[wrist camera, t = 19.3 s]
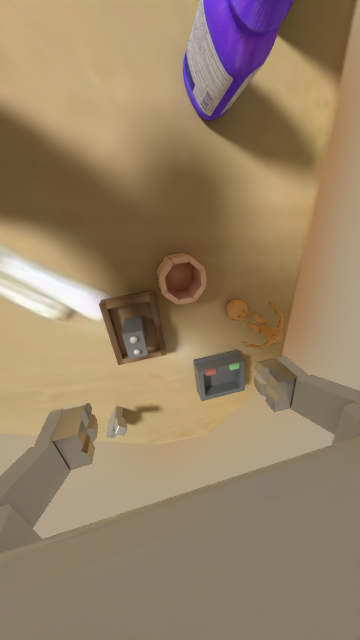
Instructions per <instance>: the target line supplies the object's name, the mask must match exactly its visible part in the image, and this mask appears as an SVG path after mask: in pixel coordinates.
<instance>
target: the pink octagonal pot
mask: <svg viewBox="0 0 360 640" xmlns="http://www.w3.org/2000/svg"><path fill="white" fill-rule="evenodd" d="M156 272H157V278H158V283H159V287H160V290H161V292H162V294H163V296H165V297H166V298H168V299H169V300H171V301H172V302H174V303H175V304H178V305H180V304H186V303H191V302H195V301H196V300H197V299H198V298H199V296H200V295H201V294H202V292H203V291H204V290H205V288H206V287H205V286H207V282H206V269H205V267H204V266H202V265H201V264H200V263H199V262H198V261H196V260H195V259H194V258H193V257H191V256H189V255H187V254H185V253H179V254H172V255H167V256H166V257H165V258H164V260H163V261H162V262H161V263H160V265H159V267H158V268H157V271H156Z"/></svg>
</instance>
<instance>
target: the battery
mask: <svg viewBox="0 0 360 640" xmlns="http://www.w3.org/2000/svg"><path fill="white" fill-rule="evenodd" d="M122 336H123V340H124V343H125V347H126V350H127V354H128V357H129V359H132V358H137V357H141V356H146V355H148V349H147V337H146V333H145V329H144V324H143V320H142V316H136V317H131V318H126V319H124V325H123V331H122Z"/></svg>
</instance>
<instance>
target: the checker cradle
mask: <svg viewBox="0 0 360 640" xmlns="http://www.w3.org/2000/svg"><path fill="white" fill-rule="evenodd" d="M194 368H195V377H196V385H197V392H198V394H199V396H200V399H201V401H204V400H208V399H212V398H216V397H220V396H224V395H227V394H231V393H235V392H239V391H243V390H245V360H244V359H243V358H242V357H241V356H240V354H239V351H238V350H235V351H230V352H226V353H221V354H217V355H213V356H208V357H204V358H199V359H195V360H194Z"/></svg>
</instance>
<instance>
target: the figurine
mask: <svg viewBox="0 0 360 640" xmlns="http://www.w3.org/2000/svg"><path fill="white" fill-rule="evenodd" d="M269 304H271V305H270V306H274V308H275V310H276V312H277V313H278V314H279V316H280V317H281V318H280V321H279V324H278V327H273V326H268V325H266V323H267V322H268V321H267V320H266V319H264V318H262V317H261V316H259V315H256V314H252V313H250V312H249V311H248V307H247V304H246V303H245V302H244V301H242V300H239V299H235V300H232V301H231V302H229V303H228V305H227V307H226V313H227V315H228V317H229V318H230V319H232V320H243V321H245V322H247V323H246V326H247V327H249V328H250V329H252V330H254V331H255V332H256V333H257V334H260V332H261V331H262V332H263V334H264V336H265V337H266V338H267V340H268V341H267V342H266V343H264V344H263V345H262V346H256V345H248V344H247V343H246V342H245V343H244V342H243V344H244V345H246V346H249V347H253V348H258V349H264V348H266V347H267V346H269V345H272V344H273V343H276V342H281V341H282V340H283V338H284V335H283V332H282V330H283V323H284V315H283V314H282V313H281V312H280V311H279V309H278V308H277V307H276V305H275V304H274V303H272V302H270V303H269ZM247 314H248V315H250V316H252V317H253V318H254V319H255V321H256V322H258V323H260V324H259V326H257V325H255V324H251V322H249V321H248V320H247V319H245V317H246V315H247Z"/></svg>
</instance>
